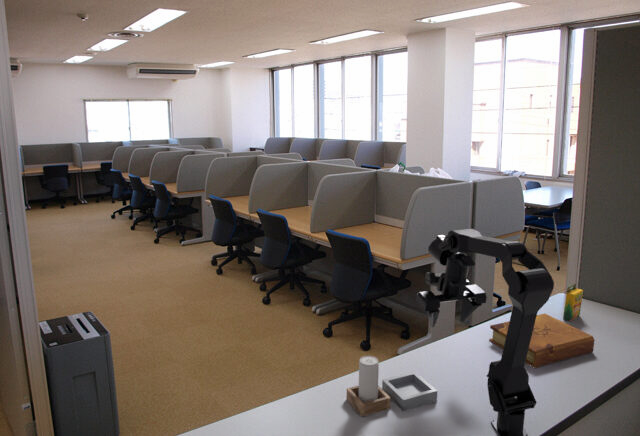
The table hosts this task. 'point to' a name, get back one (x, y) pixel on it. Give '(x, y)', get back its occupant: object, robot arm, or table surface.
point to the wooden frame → (370, 406)
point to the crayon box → (572, 303)
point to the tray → (409, 390)
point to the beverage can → (368, 378)
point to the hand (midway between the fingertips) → (446, 324)
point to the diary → (549, 341)
